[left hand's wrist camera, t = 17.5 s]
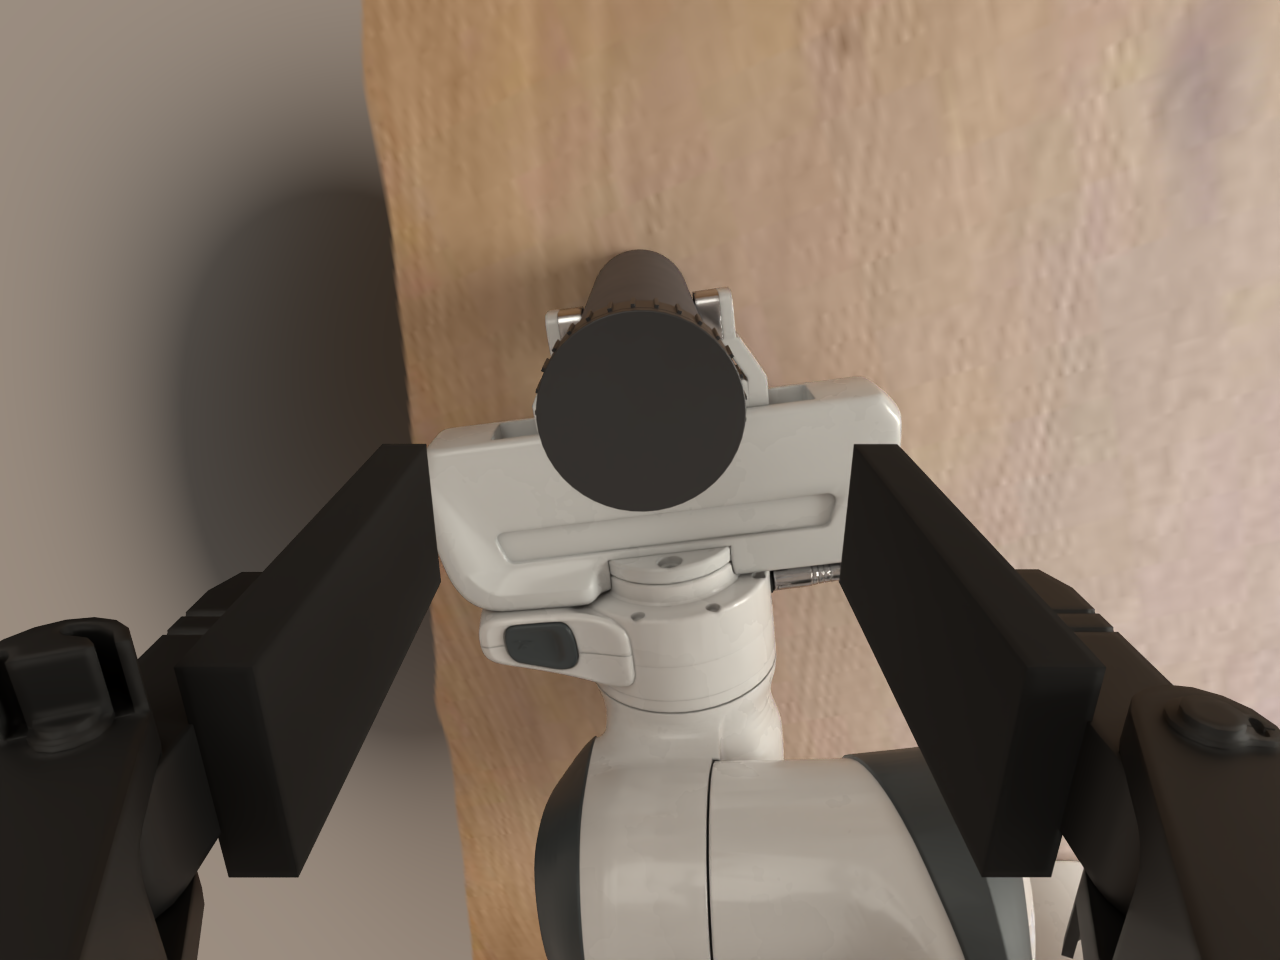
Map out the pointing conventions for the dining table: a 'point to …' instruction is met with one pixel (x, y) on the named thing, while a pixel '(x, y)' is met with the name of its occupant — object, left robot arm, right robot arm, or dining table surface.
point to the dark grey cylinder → (639, 282)
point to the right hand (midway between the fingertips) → (636, 300)
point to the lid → (641, 406)
